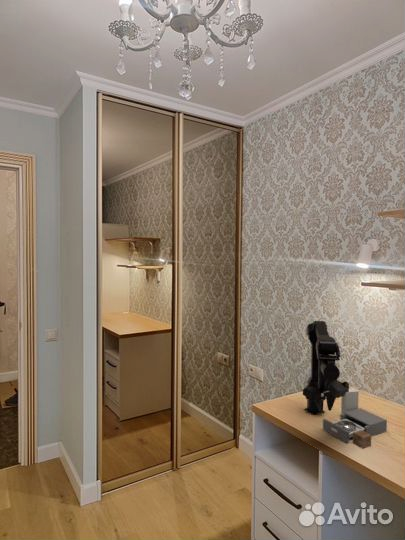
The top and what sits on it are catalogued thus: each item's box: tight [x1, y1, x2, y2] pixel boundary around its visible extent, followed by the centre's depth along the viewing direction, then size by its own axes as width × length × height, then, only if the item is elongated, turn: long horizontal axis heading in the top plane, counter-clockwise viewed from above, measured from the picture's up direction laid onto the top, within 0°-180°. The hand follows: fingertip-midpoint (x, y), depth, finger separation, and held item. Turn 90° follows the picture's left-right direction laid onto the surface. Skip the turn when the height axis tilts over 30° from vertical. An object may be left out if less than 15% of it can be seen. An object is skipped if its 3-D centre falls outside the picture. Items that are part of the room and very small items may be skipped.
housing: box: [339, 407, 388, 437], centre depth 155 cm, size 13×12×5 cm
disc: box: [337, 420, 356, 432], centre depth 150 cm, size 7×7×2 cm
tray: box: [322, 418, 364, 444], centre depth 150 cm, size 12×12×4 cm
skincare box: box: [340, 387, 359, 414], centre depth 165 cm, size 6×4×12 cm
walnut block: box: [352, 430, 372, 449], centre depth 141 cm, size 4×4×4 cm
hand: (325, 411), depth 144 cm, fingers open, 4 cm apart
